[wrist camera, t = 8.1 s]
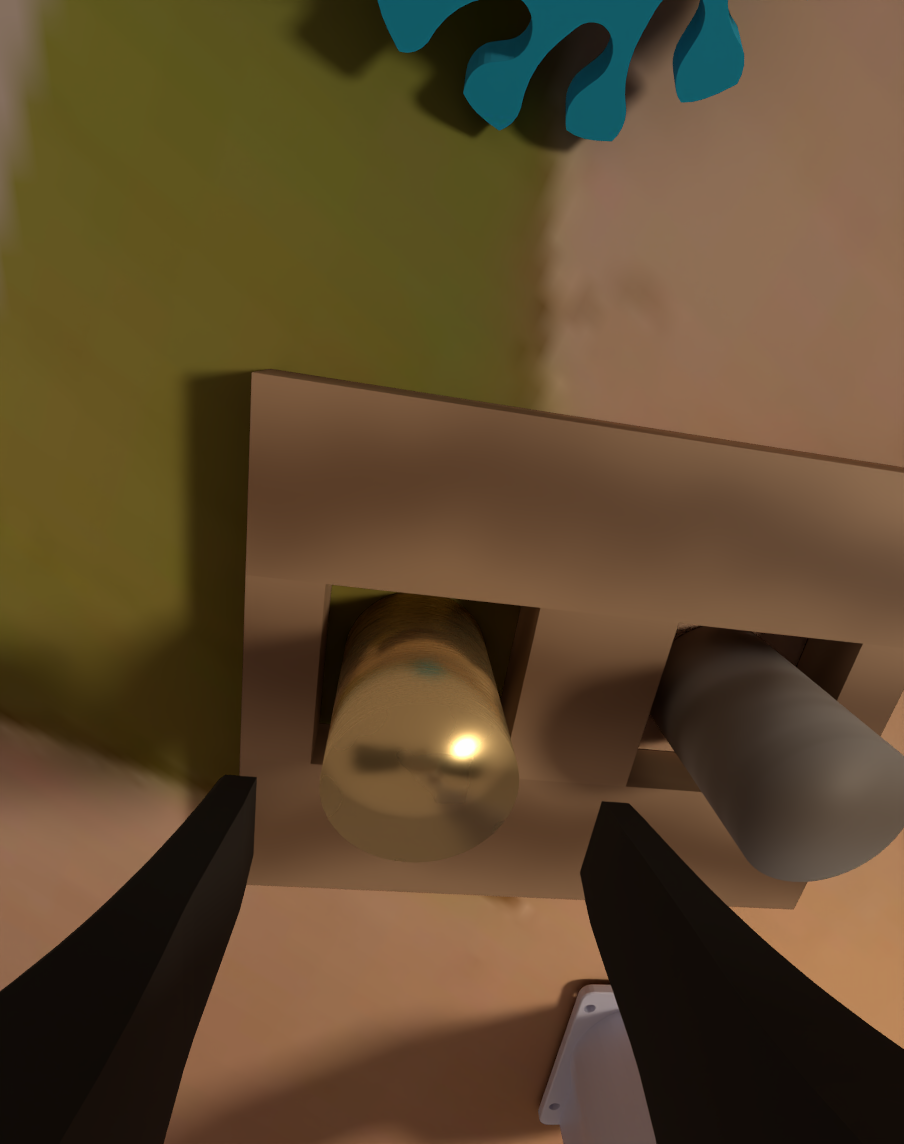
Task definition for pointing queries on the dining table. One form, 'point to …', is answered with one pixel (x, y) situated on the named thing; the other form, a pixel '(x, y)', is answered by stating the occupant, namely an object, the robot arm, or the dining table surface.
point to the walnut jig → (585, 633)
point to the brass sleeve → (417, 734)
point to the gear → (598, 90)
